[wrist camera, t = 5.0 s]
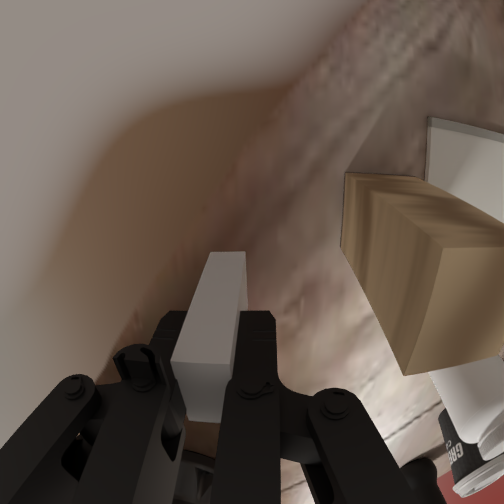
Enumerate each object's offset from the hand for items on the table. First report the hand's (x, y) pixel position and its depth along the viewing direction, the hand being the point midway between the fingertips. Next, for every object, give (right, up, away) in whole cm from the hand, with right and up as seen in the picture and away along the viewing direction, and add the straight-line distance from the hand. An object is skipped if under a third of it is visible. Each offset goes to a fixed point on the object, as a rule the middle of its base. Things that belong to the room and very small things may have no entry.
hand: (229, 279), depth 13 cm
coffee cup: (+33, -23, +21) cm, 46 cm away
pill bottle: (+24, -10, +15) cm, 30 cm away
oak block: (+11, +4, +9) cm, 15 cm away
